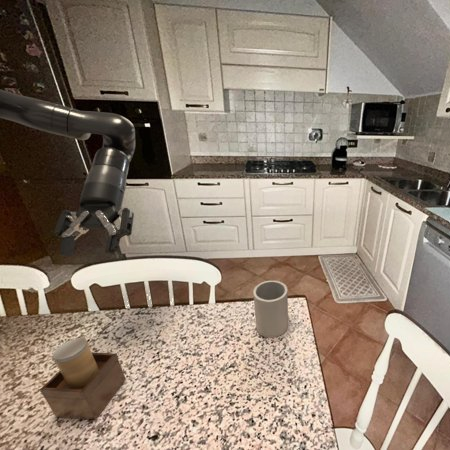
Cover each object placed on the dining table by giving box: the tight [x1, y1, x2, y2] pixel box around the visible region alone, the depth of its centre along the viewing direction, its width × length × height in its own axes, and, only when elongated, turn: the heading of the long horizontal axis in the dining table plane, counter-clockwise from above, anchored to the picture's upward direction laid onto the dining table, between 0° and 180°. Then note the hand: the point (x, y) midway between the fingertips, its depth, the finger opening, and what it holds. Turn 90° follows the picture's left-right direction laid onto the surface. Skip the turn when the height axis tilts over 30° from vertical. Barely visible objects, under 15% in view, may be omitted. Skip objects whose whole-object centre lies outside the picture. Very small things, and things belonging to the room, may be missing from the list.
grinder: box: [52, 337, 99, 389], centre depth 47 cm, size 5×5×8 cm
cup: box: [252, 280, 289, 338], centre depth 68 cm, size 9×9×12 cm
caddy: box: [39, 351, 127, 420], centre depth 50 cm, size 8×8×8 cm
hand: (88, 254), depth 51 cm, fingers open, 8 cm apart
